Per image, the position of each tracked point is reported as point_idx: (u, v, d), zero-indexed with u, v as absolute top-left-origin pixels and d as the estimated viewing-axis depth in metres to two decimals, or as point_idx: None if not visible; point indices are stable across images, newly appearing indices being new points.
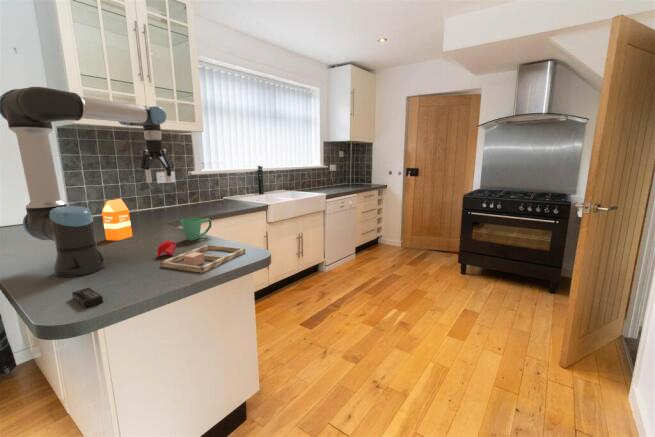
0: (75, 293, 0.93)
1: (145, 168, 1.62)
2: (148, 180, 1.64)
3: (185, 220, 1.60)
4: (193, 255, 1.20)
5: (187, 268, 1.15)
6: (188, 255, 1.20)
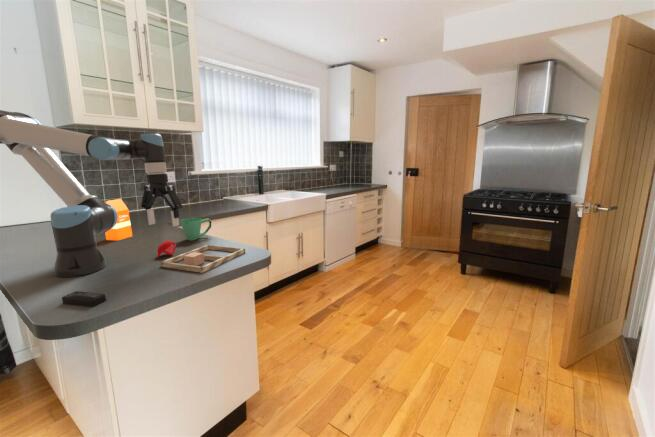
0: (67, 297, 0.90)
1: (147, 207, 1.32)
2: (151, 222, 1.33)
3: (185, 220, 1.60)
4: (193, 255, 1.20)
5: (187, 268, 1.15)
6: (188, 255, 1.20)
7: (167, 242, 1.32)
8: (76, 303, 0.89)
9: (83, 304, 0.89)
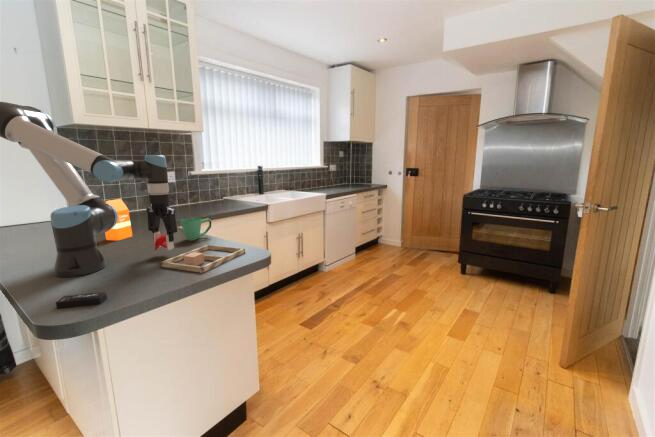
0: (63, 301, 0.88)
1: (154, 230, 1.32)
2: None
3: (185, 220, 1.60)
4: (193, 255, 1.20)
5: (187, 268, 1.15)
6: (188, 255, 1.20)
7: (165, 236, 1.32)
8: (77, 305, 0.88)
9: (87, 304, 0.89)
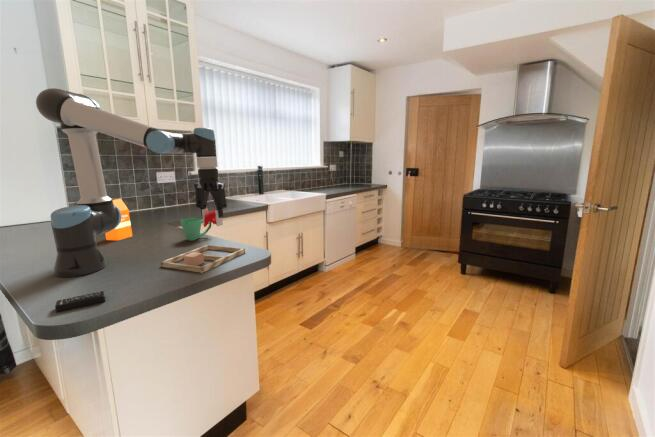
0: (64, 303, 0.86)
1: (202, 207, 1.29)
2: None
3: (185, 220, 1.60)
4: (193, 255, 1.20)
5: (187, 268, 1.15)
6: (188, 255, 1.20)
7: (213, 212, 1.29)
8: (80, 305, 0.88)
9: (91, 303, 0.89)
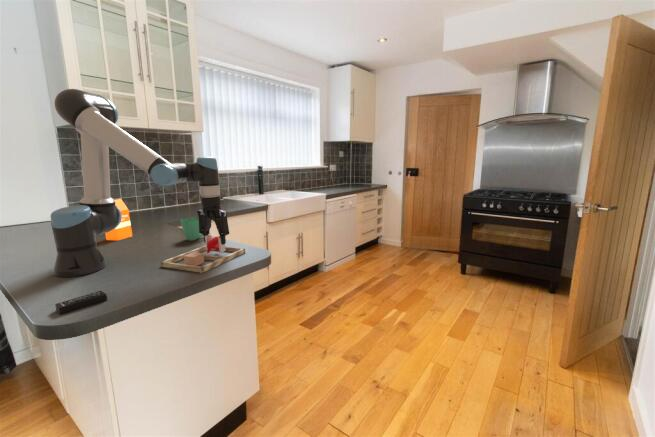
0: (67, 305, 0.85)
1: (205, 233, 1.31)
2: None
3: (185, 220, 1.60)
4: (193, 255, 1.20)
5: (187, 268, 1.15)
6: (188, 255, 1.20)
7: (216, 238, 1.31)
8: (84, 305, 0.88)
9: (94, 302, 0.90)
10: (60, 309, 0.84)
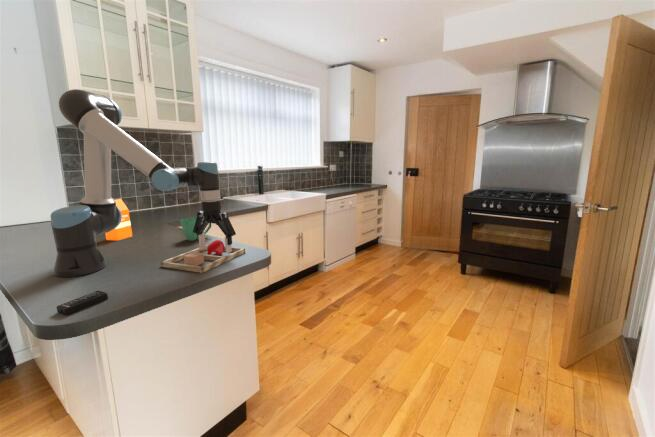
0: (72, 305, 0.85)
1: (199, 233, 1.33)
2: (202, 247, 1.34)
3: (185, 220, 1.60)
4: (193, 255, 1.20)
5: (187, 268, 1.15)
6: (188, 255, 1.20)
7: (217, 242, 1.32)
8: (88, 305, 0.88)
9: (97, 301, 0.90)
10: (66, 310, 0.83)
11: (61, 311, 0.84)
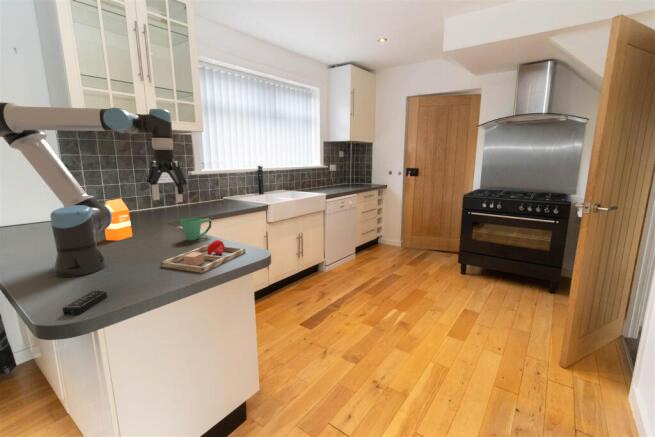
0: (81, 305, 0.85)
1: (152, 183, 1.34)
2: (155, 197, 1.35)
3: (185, 220, 1.60)
4: (193, 255, 1.20)
5: (187, 268, 1.15)
6: (188, 255, 1.20)
7: (217, 242, 1.32)
8: (93, 303, 0.89)
9: (99, 300, 0.91)
10: (78, 309, 0.84)
11: (69, 312, 0.84)
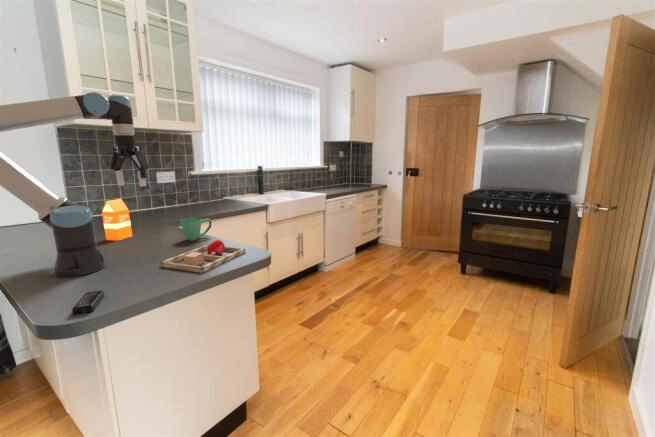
0: (91, 303, 0.86)
1: (116, 169, 1.37)
2: (119, 183, 1.38)
3: (185, 220, 1.60)
4: (193, 255, 1.20)
5: (187, 268, 1.15)
6: (188, 255, 1.20)
7: (217, 242, 1.32)
8: (98, 302, 0.90)
9: (101, 298, 0.92)
10: (91, 306, 0.85)
11: (81, 311, 0.84)
